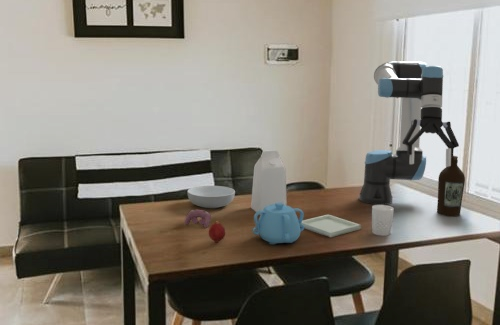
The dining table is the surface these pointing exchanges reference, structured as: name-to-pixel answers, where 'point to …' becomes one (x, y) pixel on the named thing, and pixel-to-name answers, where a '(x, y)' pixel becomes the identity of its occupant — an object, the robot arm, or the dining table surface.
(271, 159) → the milk
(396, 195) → the dining table surface
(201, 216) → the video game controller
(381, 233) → the white cup
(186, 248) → the dining table surface
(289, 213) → the decorative pot
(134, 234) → the dining table surface
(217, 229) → the onion
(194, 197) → the serving bowl
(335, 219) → the tray
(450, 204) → the olive oil
